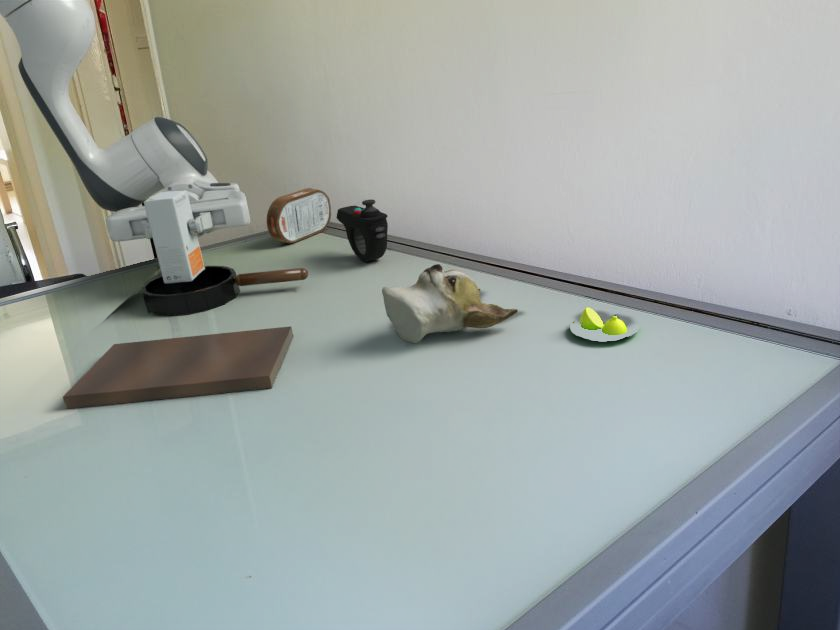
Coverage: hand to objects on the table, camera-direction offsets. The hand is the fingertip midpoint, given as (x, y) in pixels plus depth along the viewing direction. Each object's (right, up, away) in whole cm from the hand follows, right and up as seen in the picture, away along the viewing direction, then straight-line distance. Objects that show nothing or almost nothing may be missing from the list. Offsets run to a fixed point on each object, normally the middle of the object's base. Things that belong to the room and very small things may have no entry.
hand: (173, 230), depth 102 cm
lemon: (+57, -15, -19) cm, 62 cm away
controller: (+25, -2, +16) cm, 30 cm away
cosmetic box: (0, -6, +4) cm, 7 cm away
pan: (+6, -9, +5) cm, 12 cm away
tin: (+12, +4, +33) cm, 35 cm away
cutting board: (+9, -19, -18) cm, 28 cm away
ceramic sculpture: (+39, -15, -15) cm, 44 cm away
